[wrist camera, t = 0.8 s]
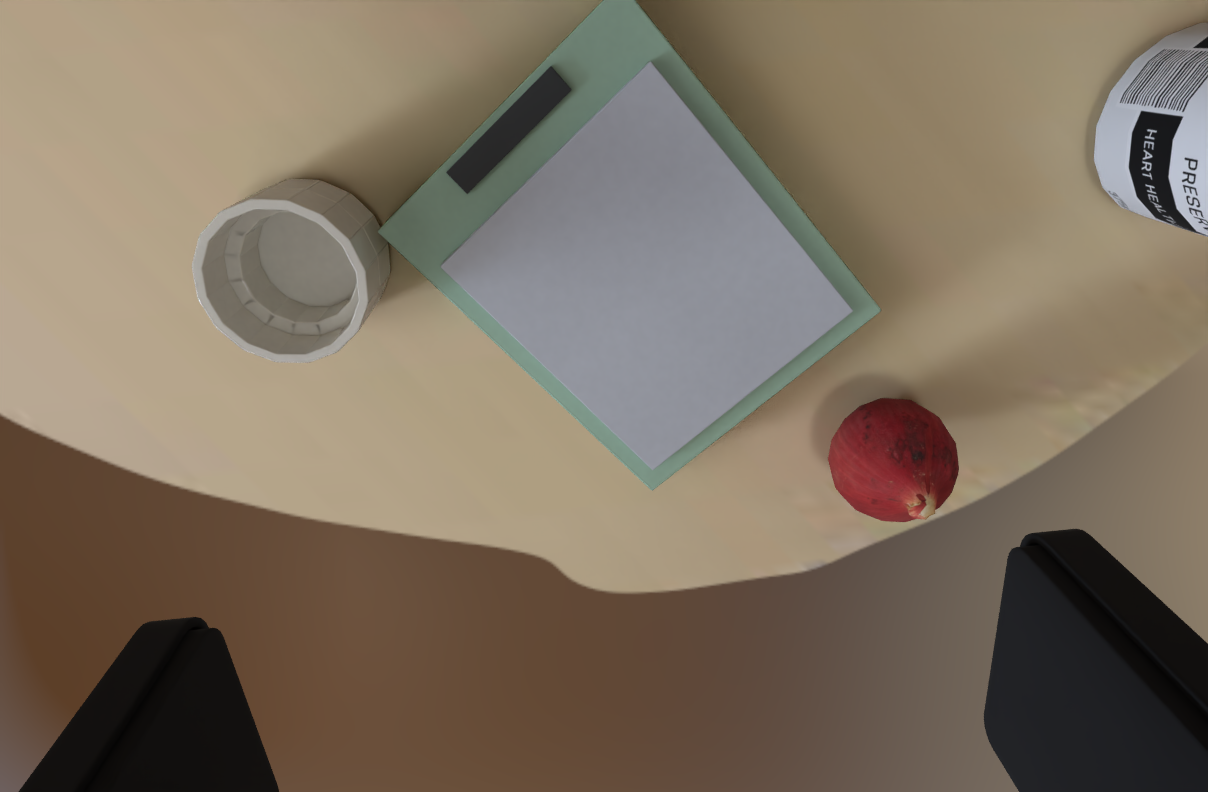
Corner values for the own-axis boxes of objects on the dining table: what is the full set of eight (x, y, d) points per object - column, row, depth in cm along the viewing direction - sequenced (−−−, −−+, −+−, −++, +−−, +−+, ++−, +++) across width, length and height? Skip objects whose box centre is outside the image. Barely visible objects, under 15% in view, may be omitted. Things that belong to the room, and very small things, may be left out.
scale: (388, 219, 35) (373, 235, 33) (617, -15, 32) (622, -19, 29) (647, 467, 42) (653, 498, 39) (864, 294, 38) (887, 315, 35)
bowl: (209, 249, 36) (157, 281, 31) (304, 143, 34) (263, 161, 29) (328, 349, 38) (296, 393, 33) (422, 255, 36) (402, 287, 32)
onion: (822, 371, 40) (879, 447, 32) (931, 376, 40) (1012, 452, 33) (802, 470, 42) (851, 561, 35) (905, 474, 42) (975, 565, 35)
